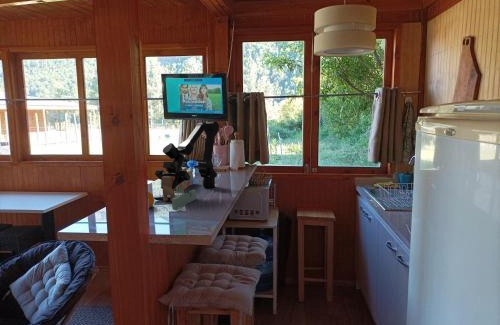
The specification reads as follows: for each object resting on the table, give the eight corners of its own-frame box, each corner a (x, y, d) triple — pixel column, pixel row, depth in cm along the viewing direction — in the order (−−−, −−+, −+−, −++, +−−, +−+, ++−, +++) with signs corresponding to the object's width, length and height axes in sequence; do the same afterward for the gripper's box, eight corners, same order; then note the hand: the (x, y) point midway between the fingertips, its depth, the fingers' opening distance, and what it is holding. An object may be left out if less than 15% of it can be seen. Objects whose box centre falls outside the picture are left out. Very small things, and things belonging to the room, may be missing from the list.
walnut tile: (165, 199, 195) (163, 176, 193) (175, 200, 192) (173, 176, 191) (163, 200, 193) (161, 177, 191) (173, 201, 191) (171, 177, 189)
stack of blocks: (184, 183, 235) (182, 164, 233) (193, 183, 234) (192, 164, 232) (170, 191, 214) (168, 170, 212) (180, 191, 213) (179, 170, 211)
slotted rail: (193, 198, 194) (193, 189, 193) (196, 199, 193) (195, 189, 192) (172, 209, 175) (171, 198, 175) (175, 209, 175) (174, 199, 174)
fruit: (146, 212, 173) (144, 191, 171) (124, 211, 176) (122, 190, 175) (159, 205, 184) (157, 185, 182) (138, 204, 187) (137, 185, 186)
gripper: (155, 155, 196) (144, 179, 188) (185, 155, 189) (175, 180, 181) (164, 167, 205) (154, 191, 196) (194, 167, 198) (185, 192, 189)
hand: (166, 188), depth 190 cm, fingers closed on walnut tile, 6 cm apart
